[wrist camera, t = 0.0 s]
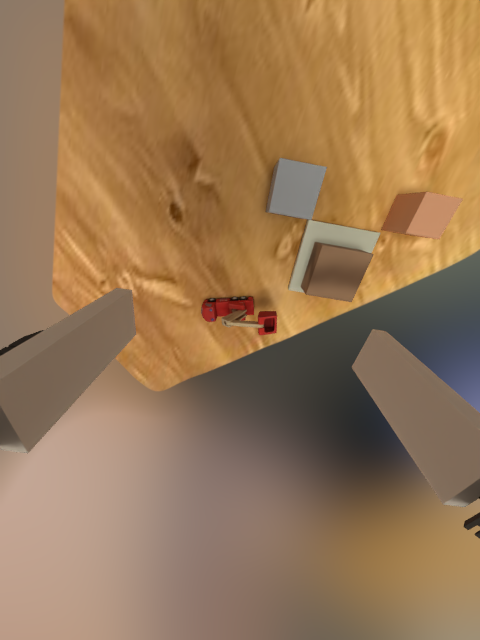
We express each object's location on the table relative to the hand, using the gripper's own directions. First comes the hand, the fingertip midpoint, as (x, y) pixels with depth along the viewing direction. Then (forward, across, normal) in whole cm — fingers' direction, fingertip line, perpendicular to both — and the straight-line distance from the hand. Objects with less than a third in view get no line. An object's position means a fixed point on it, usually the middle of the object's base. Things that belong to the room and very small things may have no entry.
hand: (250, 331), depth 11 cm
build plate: (+28, +15, 0) cm, 32 cm away
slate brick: (+28, +5, +9) cm, 30 cm away
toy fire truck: (+28, 0, -11) cm, 30 cm away
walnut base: (+27, +15, -1) cm, 31 cm away
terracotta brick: (+28, +24, +9) cm, 38 cm away
